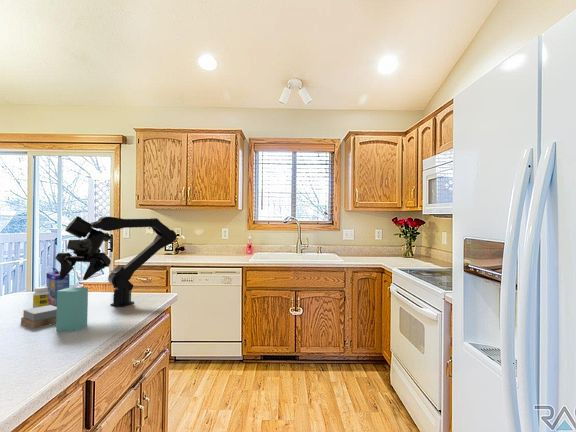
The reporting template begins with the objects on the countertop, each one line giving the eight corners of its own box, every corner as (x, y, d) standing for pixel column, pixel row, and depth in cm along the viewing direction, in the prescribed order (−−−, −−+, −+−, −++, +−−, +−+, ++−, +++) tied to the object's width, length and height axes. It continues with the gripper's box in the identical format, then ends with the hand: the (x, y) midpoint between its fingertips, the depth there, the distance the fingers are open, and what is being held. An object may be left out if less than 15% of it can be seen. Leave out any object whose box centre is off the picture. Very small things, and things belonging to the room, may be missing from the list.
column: (69, 324, 111) (70, 287, 111) (87, 325, 110) (88, 287, 110) (56, 330, 105) (57, 291, 105) (74, 331, 104) (75, 291, 104)
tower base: (51, 318, 119) (51, 311, 119) (64, 323, 114) (64, 315, 114) (20, 325, 111) (21, 317, 111) (33, 330, 107) (33, 322, 107)
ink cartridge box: (45, 301, 139) (45, 267, 139) (60, 299, 143) (61, 265, 143) (54, 305, 133) (55, 269, 133) (70, 303, 138) (70, 268, 138)
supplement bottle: (39, 311, 125) (40, 289, 125) (29, 310, 126) (30, 288, 126) (51, 308, 130) (51, 286, 130) (41, 307, 131) (41, 285, 131)
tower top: (50, 312, 118) (50, 304, 118) (61, 315, 114) (61, 308, 114) (23, 317, 111) (23, 309, 112) (33, 321, 107) (34, 313, 107)
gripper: (57, 231, 124) (33, 266, 113) (103, 230, 121) (83, 267, 111) (75, 249, 132) (53, 283, 122) (118, 248, 130) (100, 284, 119)
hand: (72, 279), depth 118 cm, fingers open, 9 cm apart
